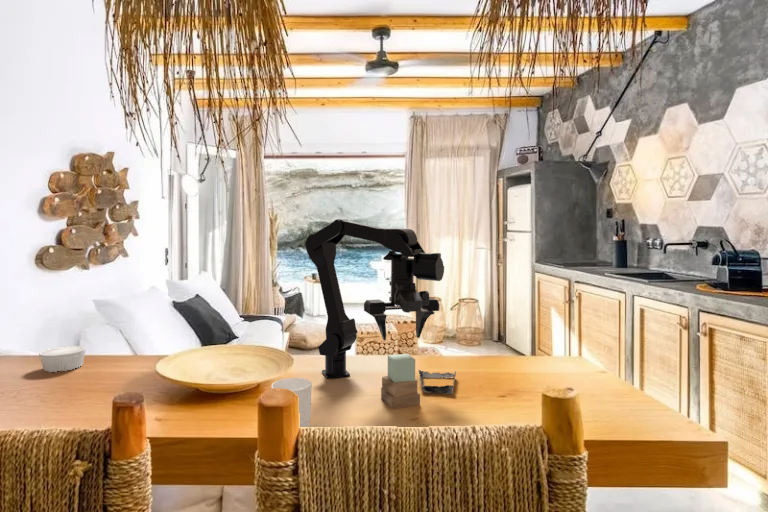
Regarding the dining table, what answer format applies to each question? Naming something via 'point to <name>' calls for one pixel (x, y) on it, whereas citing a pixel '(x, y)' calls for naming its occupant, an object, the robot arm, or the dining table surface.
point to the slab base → (400, 400)
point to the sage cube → (401, 368)
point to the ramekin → (62, 358)
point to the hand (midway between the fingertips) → (401, 338)
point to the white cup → (299, 395)
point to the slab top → (399, 387)
